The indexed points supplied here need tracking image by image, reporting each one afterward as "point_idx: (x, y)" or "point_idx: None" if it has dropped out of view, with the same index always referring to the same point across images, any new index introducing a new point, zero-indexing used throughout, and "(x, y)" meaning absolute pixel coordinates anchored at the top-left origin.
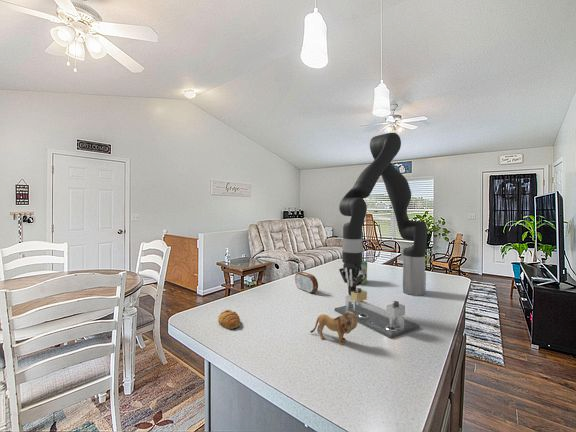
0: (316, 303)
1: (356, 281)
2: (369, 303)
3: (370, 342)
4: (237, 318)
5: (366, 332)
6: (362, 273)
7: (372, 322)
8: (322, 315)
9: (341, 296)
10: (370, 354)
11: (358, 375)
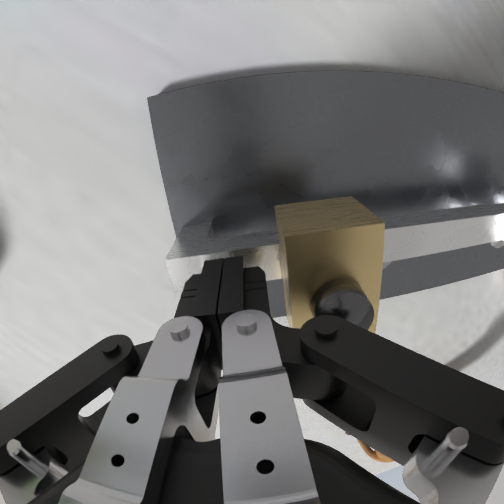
0: (88, 334)
1: (367, 424)
2: (410, 227)
3: (477, 325)
4: None
5: (448, 305)
6: (490, 480)
7: (442, 257)
8: (393, 460)
9: (8, 160)
10: (491, 348)
11: (491, 384)
